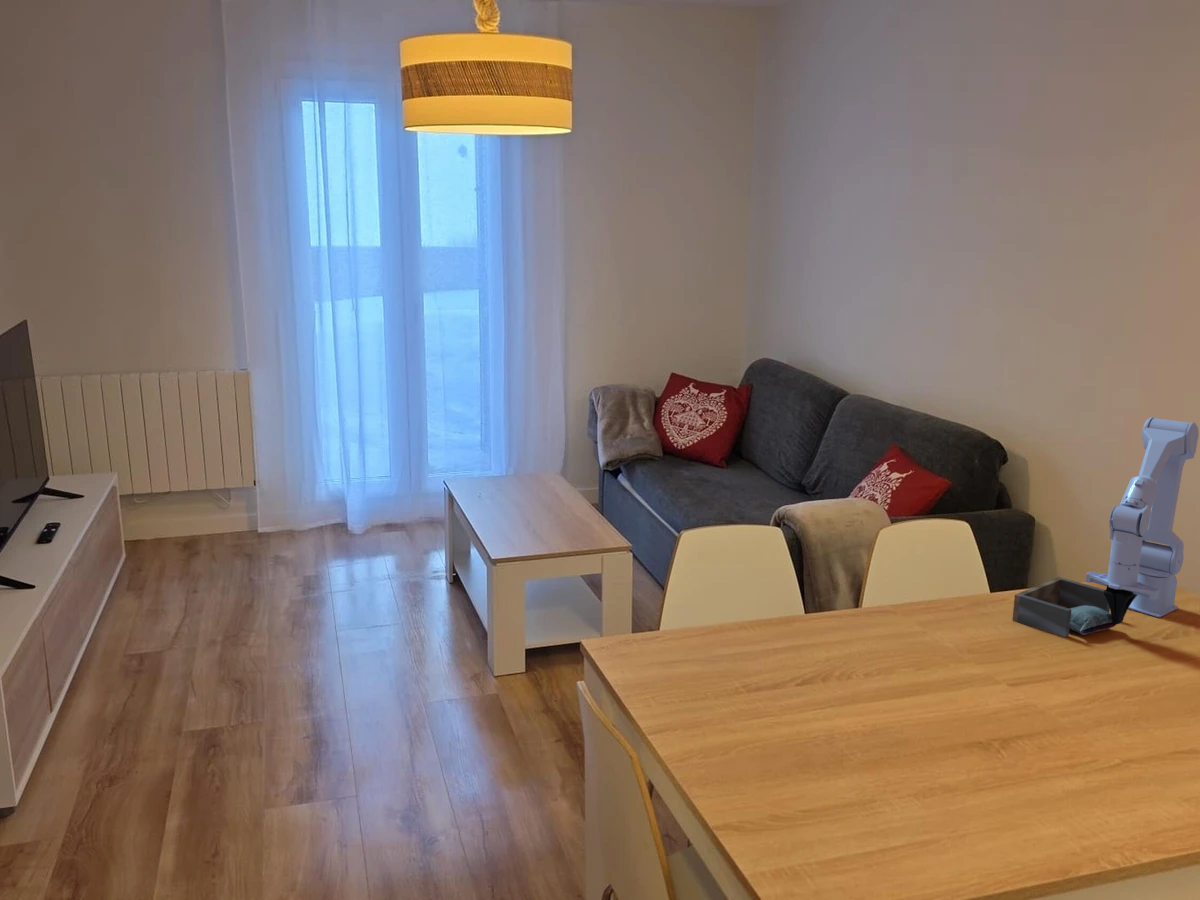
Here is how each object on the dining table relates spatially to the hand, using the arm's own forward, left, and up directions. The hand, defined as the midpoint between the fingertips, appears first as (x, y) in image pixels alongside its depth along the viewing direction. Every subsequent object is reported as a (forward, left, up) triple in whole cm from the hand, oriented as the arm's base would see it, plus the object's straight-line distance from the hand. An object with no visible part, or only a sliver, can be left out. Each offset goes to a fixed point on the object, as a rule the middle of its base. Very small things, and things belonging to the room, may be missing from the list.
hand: (1117, 622), depth 222 cm
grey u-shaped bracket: (+1, -12, -3) cm, 12 cm away
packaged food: (+2, -6, -3) cm, 7 cm away
